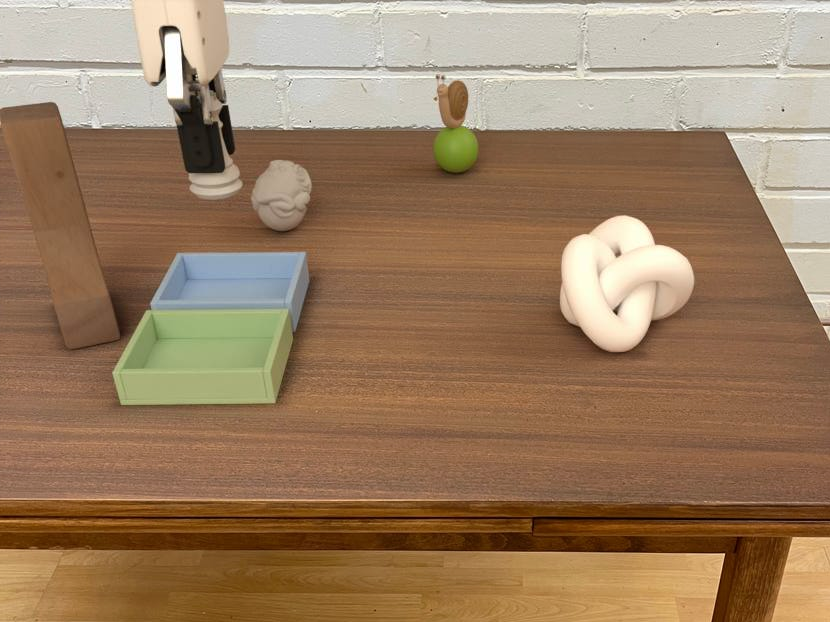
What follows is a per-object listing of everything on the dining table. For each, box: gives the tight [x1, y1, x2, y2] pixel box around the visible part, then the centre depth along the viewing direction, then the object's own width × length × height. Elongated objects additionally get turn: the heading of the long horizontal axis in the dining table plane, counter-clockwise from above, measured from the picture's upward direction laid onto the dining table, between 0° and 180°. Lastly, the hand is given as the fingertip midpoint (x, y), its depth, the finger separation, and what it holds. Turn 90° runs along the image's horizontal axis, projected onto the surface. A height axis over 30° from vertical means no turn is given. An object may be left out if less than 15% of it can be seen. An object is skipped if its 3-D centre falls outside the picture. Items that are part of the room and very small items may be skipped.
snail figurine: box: [432, 73, 480, 174], centre depth 111 cm, size 5×6×12 cm
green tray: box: [111, 309, 294, 406], centre depth 78 cm, size 12×10×3 cm
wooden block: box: [0, 101, 121, 350], centre depth 80 cm, size 9×4×18 cm, turn 24°
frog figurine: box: [250, 159, 313, 232], centre depth 100 cm, size 6×7×7 cm
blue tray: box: [149, 251, 310, 333], centre depth 87 cm, size 12×10×3 cm
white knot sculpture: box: [559, 214, 695, 353], centre depth 82 cm, size 11×12×9 cm
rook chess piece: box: [188, 90, 243, 201], centre depth 79 cm, size 4×4×8 cm
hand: (211, 160), depth 80 cm, fingers closed on rook chess piece, 3 cm apart
